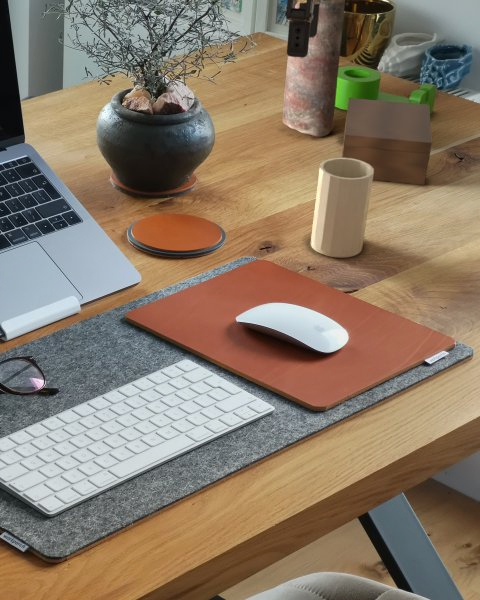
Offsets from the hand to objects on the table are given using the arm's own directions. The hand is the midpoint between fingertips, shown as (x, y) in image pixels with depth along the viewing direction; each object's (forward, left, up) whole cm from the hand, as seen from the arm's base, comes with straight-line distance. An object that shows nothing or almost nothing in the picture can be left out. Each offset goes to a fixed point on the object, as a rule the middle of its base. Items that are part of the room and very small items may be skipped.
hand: (302, 45), depth 124 cm
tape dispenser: (-11, -44, -23) cm, 51 cm away
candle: (-1, -33, -23) cm, 40 cm away
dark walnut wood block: (-12, -24, -23) cm, 35 cm away
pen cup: (-7, +3, -23) cm, 24 cm away
